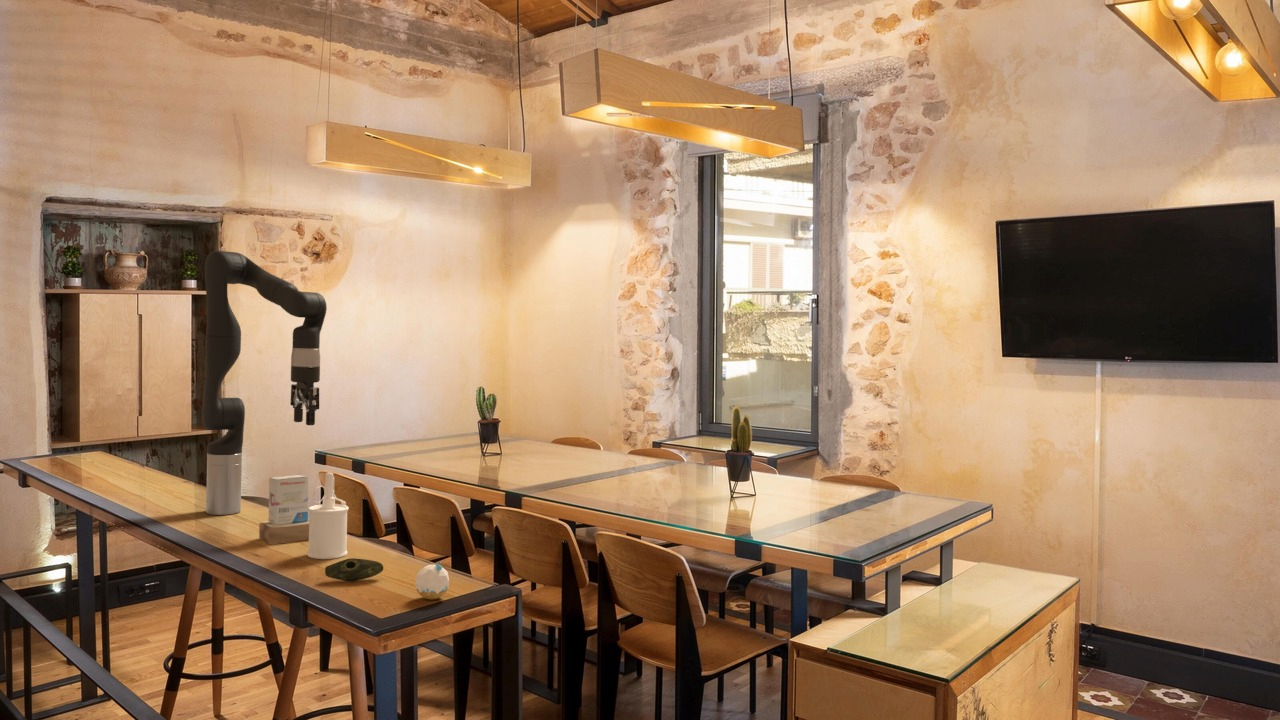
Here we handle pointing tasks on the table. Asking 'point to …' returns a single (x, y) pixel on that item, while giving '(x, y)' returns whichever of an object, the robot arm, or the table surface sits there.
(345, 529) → the white canister grenade
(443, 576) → the ornament
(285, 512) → the ink box
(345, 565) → the decorative stone
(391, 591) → the table surface
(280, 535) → the open box
